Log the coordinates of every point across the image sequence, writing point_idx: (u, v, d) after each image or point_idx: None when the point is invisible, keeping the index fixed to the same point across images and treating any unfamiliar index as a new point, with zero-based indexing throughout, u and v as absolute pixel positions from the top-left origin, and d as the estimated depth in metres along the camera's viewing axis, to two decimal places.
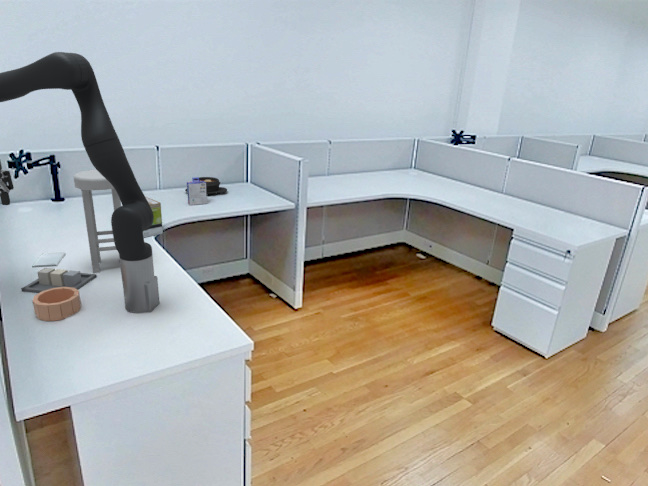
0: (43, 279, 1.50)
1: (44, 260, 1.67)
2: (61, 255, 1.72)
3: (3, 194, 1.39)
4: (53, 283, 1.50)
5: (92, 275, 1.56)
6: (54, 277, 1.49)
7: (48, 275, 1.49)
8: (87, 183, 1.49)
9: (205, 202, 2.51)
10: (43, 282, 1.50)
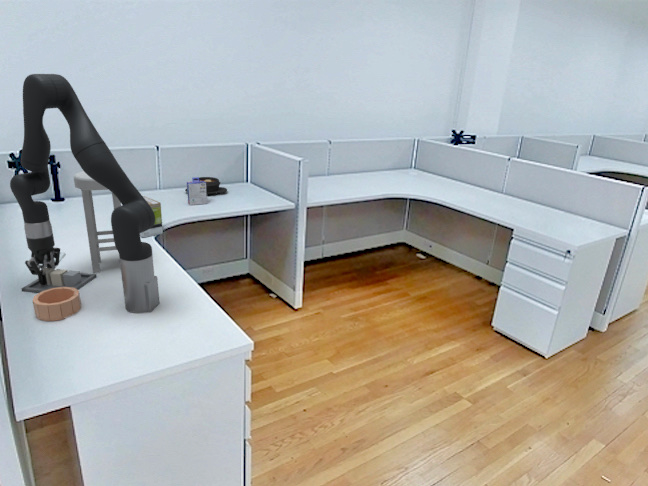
0: None
1: None
2: (61, 255, 1.72)
3: None
4: (53, 283, 1.50)
5: (92, 275, 1.56)
6: (54, 277, 1.49)
7: (48, 275, 1.49)
8: (87, 183, 1.49)
9: (205, 202, 2.51)
10: None
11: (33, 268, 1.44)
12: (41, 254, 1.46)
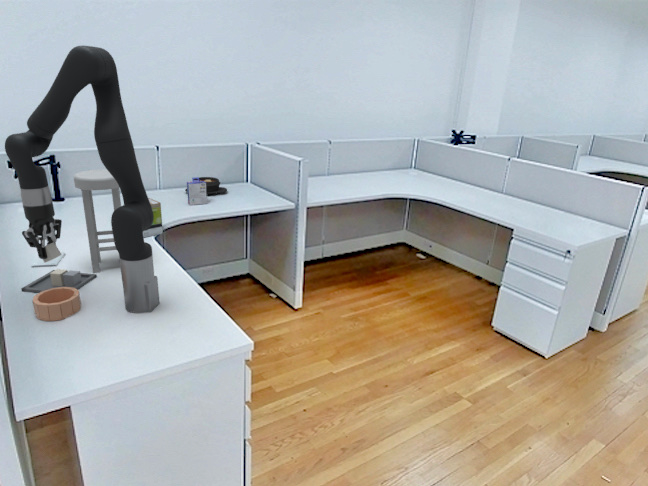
0: None
1: None
2: (61, 255, 1.72)
3: (50, 243, 1.39)
4: (53, 283, 1.50)
5: (92, 275, 1.56)
6: (54, 277, 1.49)
7: (48, 248, 1.36)
8: (87, 183, 1.49)
9: (205, 202, 2.51)
10: (47, 258, 1.37)
11: (31, 239, 1.30)
12: (40, 224, 1.33)
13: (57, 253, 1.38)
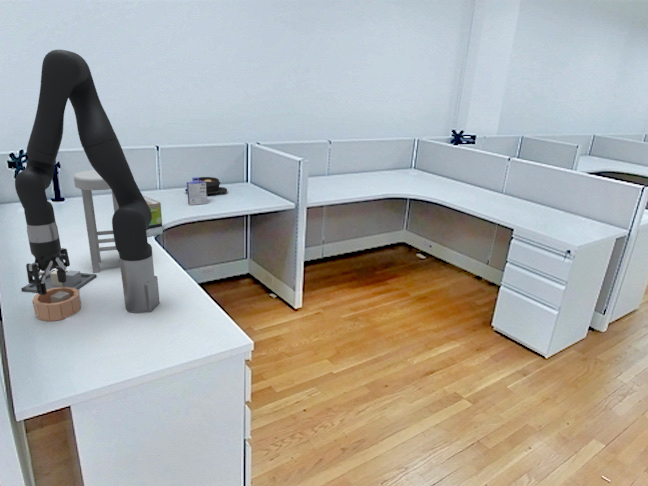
0: None
1: None
2: None
3: (60, 272, 1.37)
4: (53, 283, 1.50)
5: (92, 275, 1.56)
6: (54, 277, 1.49)
7: (61, 300, 1.33)
8: (87, 183, 1.49)
9: (205, 202, 2.51)
10: None
11: (33, 273, 1.25)
12: (46, 260, 1.29)
13: None
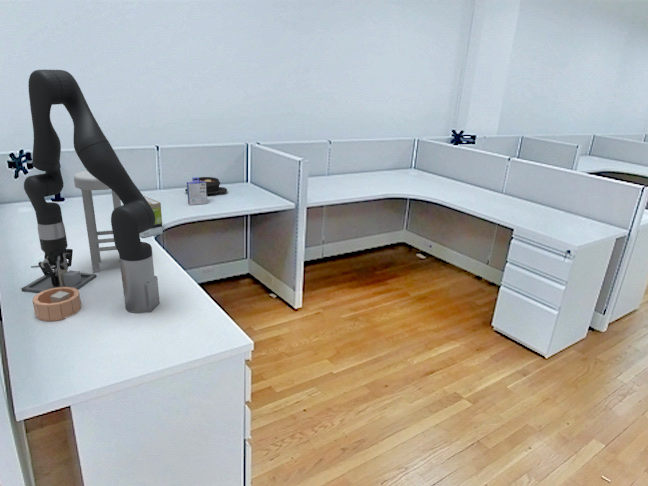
0: None
1: (43, 260, 1.67)
2: None
3: None
4: None
5: (92, 275, 1.56)
6: None
7: (61, 300, 1.33)
8: (87, 183, 1.49)
9: (205, 202, 2.51)
10: None
11: (46, 269, 1.43)
12: (54, 255, 1.46)
13: None
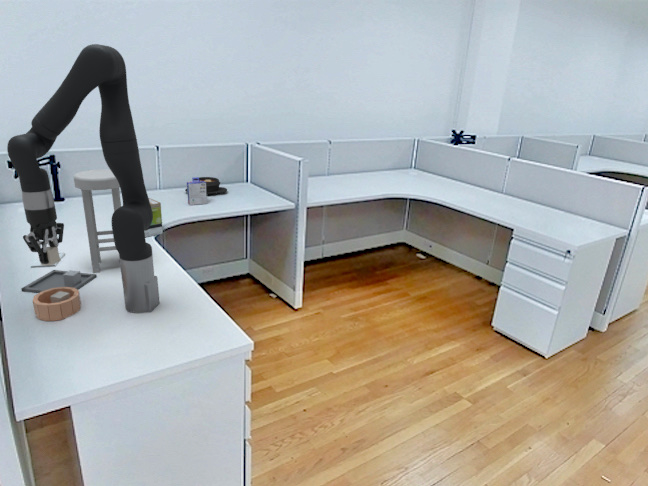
0: None
1: None
2: (60, 255, 1.72)
3: None
4: None
5: (92, 275, 1.56)
6: None
7: (61, 300, 1.33)
8: (87, 183, 1.49)
9: (205, 202, 2.51)
10: None
11: (32, 244, 1.26)
12: (41, 228, 1.28)
13: None
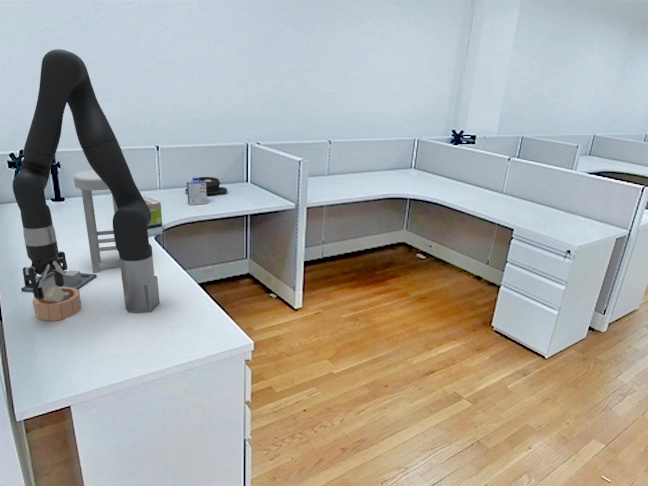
0: None
1: None
2: None
3: (57, 276, 1.34)
4: (49, 302, 1.31)
5: (92, 275, 1.56)
6: (46, 298, 1.29)
7: None
8: (87, 183, 1.49)
9: (205, 202, 2.51)
10: None
11: (30, 277, 1.23)
12: (43, 264, 1.26)
13: None
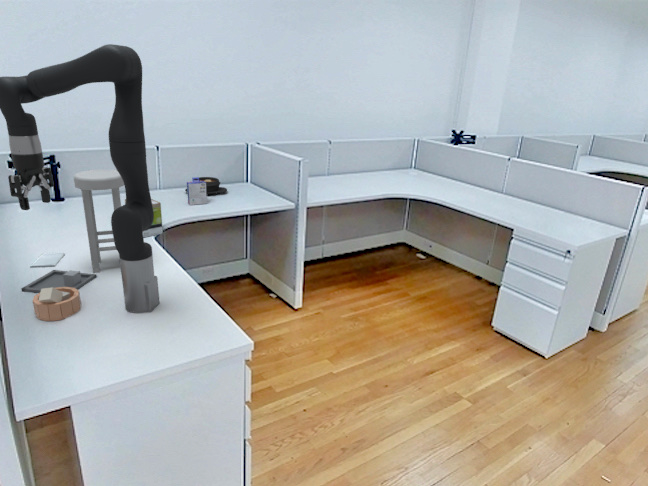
0: None
1: (42, 260, 1.67)
2: (60, 256, 1.72)
3: (44, 191, 1.36)
4: None
5: (92, 275, 1.56)
6: (45, 301, 1.29)
7: (61, 300, 1.33)
8: (87, 183, 1.49)
9: (205, 202, 2.51)
10: None
11: (15, 185, 1.24)
12: (29, 175, 1.28)
13: None
